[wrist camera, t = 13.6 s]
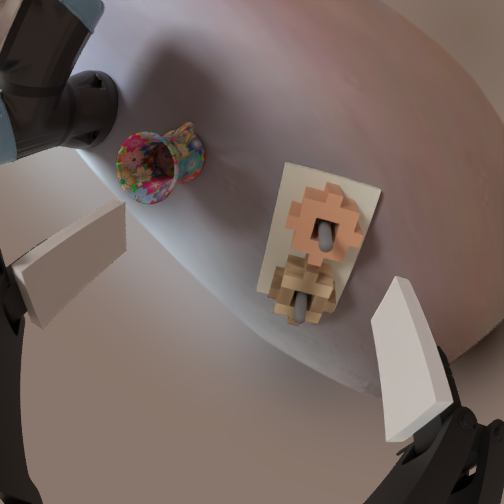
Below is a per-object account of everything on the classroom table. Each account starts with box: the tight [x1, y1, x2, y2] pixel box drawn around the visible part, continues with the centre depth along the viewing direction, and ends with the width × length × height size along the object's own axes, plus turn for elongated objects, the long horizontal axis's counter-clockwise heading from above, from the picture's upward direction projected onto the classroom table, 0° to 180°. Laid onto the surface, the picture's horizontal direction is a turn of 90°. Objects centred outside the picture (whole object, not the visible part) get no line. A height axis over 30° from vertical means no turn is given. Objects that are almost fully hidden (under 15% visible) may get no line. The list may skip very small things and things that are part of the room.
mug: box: [116, 122, 205, 204], centre depth 34 cm, size 12×9×11 cm
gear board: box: [256, 162, 381, 323], centre depth 36 cm, size 14×22×11 cm, turn 170°
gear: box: [268, 253, 336, 326], centre depth 41 cm, size 10×10×6 cm
